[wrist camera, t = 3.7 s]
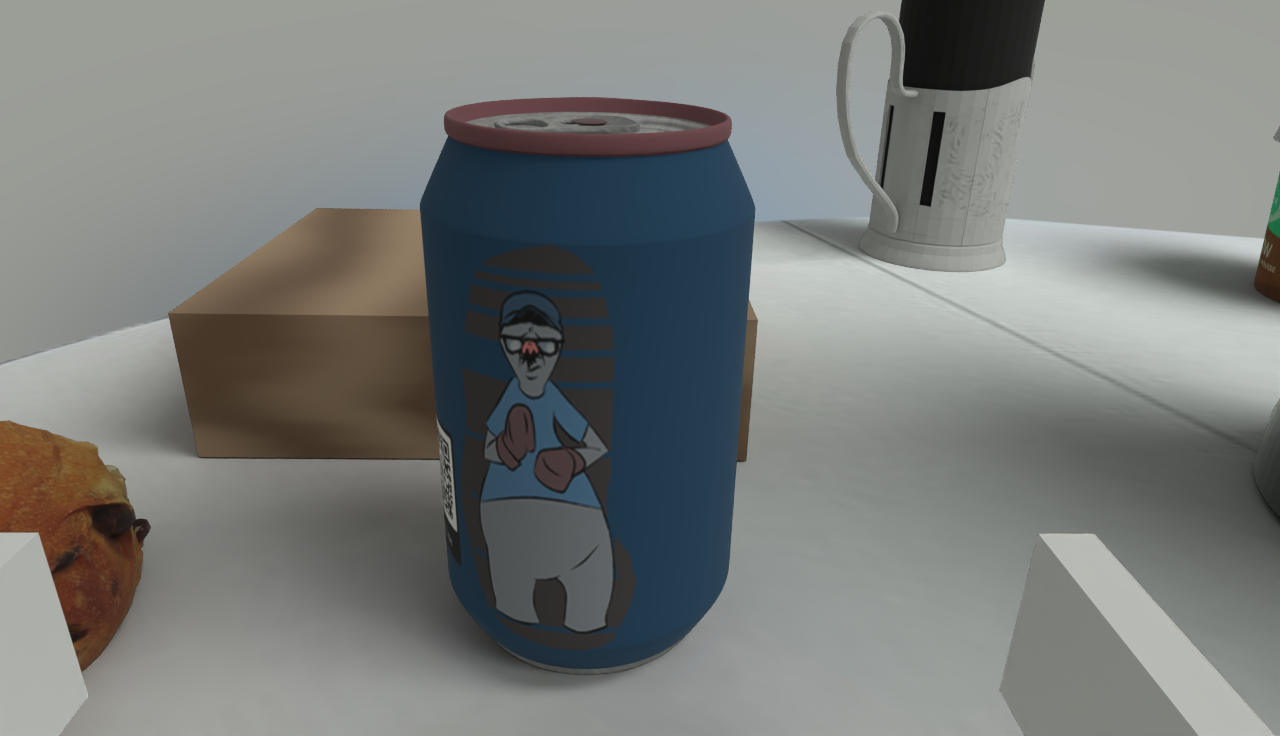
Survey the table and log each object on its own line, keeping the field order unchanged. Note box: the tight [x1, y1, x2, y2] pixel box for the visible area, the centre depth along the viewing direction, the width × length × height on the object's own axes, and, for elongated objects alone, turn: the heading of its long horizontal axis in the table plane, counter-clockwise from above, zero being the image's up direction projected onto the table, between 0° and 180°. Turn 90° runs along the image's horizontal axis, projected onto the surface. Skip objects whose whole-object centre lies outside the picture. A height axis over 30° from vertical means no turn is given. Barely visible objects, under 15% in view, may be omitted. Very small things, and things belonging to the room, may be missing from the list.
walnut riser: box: [168, 208, 758, 461], centre depth 34 cm, size 18×14×5 cm
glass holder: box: [836, 0, 1045, 272], centre depth 49 cm, size 9×14×15 cm, turn 125°
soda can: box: [420, 97, 755, 675], centre depth 20 cm, size 7×7×12 cm
